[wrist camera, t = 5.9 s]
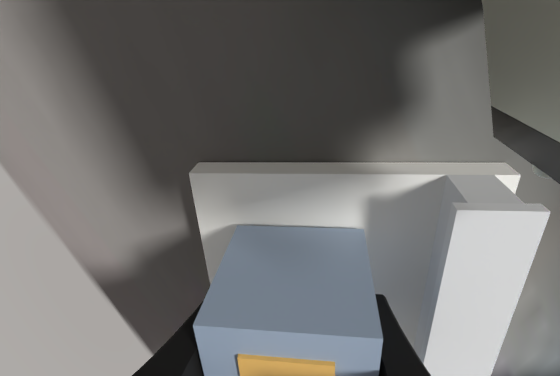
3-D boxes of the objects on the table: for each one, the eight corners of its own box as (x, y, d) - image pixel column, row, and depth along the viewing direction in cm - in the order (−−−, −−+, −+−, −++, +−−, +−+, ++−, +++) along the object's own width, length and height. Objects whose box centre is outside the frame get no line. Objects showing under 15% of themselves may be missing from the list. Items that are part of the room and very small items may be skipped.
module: (356, 331, 14) (368, 463, 10) (249, 323, 14) (218, 445, 10) (363, 229, 11) (384, 343, 7) (237, 225, 12) (190, 329, 8)
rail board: (444, 386, 16) (467, 462, 14) (234, 367, 18) (217, 433, 15) (505, 162, 11) (566, 212, 8) (198, 162, 13) (161, 204, 10)
